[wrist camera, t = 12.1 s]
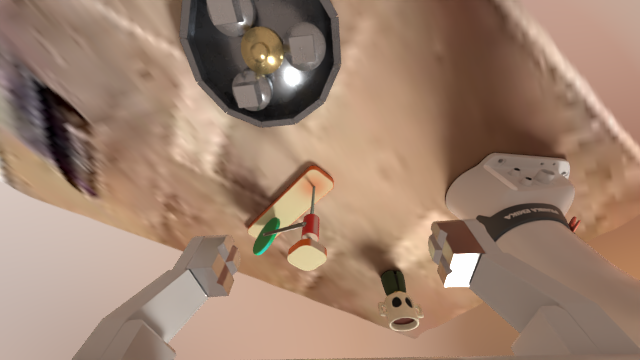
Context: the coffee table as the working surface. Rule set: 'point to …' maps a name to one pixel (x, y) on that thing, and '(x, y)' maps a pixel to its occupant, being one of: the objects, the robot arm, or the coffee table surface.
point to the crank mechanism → (287, 211)
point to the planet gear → (304, 46)
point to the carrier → (258, 56)
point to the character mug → (398, 303)
